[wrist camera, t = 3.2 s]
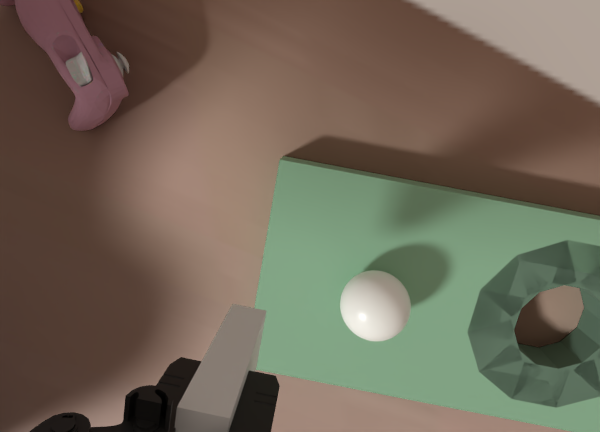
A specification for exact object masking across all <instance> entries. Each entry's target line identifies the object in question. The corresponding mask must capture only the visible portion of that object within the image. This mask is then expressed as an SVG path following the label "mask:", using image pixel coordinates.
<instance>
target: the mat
mask: <svg viewBox="0 0 600 432" xmlns="http://www.w3.org/2000/svg"><path fill="white" fill-rule="evenodd" d="M371 270H377V271H383V272H386V273H389V274H391V275H393V276H394V277H395V278H397V279H398V280H399V281H400V282H401V283H402V284H403V285H404V287H405V288H406V290H407V292H408V295H409V298H410V303H411V312H410V317H409V320H408V322H407V324H406V326H405V327H404V329H403V330H402V331H401V332H400V333H399V334H398V335H396V336H395V337H393V338H391V339H388V340H385V341H369V340H365V339H363V338H360V337H359V336H357V335H356V334H354V333H353V332H352V331H351V330H350V329H349V328H348V327H347V325H346V323H345V322H344V320H343V318H342V314H341V310H340V300H341V295H342V292H343V290H344V287H345V286H346V284H347V283H348V282H349V281H350V280H351V279H352V278H353V277H355V276H356V275H358V274H360V273H362V272H365V271H371ZM563 285H566V286H572V287H577V288H580V291H581V295H582V300H583V304H584V310H583V313H582V315H581V318H580V321H579V323H578V326H577V328H576V329H574V330H573V331H572V332H571V333H570V334H569V335H567V336H566V337H565V338H564V339H563V340H562V341H560V342H557V343H554V344H550V345H546V346H543V347H539V348H538V347H533V346H528V345H522V344H518V343H517V340H516V336H515V332H514V328H515V325H516V323H517V320H518V317H519V314H520V311H521V308H523V307H524V306H525V305H526V304H527V303H528V302H529V301H530V300H531V299H532V298H534V297H535V296H536V295H537V294H538V293H539V292H542V291H545V290H549V289H552V288H556V287H559V286H563ZM255 308H256V309H261V310H265V311H266V317H265V322H264V328H263V334H262V339H261V345H260V350H259V356H258V362H257V367H256V370H260V371H266V372H271V373H276V374H281V375H286V376H291V377H296V378H301V379H306V380H312V381H317V382H322V383H327V384H332V385H337V386H342V387H347V388H352V389H358V390H363V391H368V392H373V393H378V394H383V395H388V396H393V397H398V398H403V399H409V400H414V401H419V402H424V403H429V404H434V405H439V406H444V407H449V408H455V409H460V410H465V411H470V412H475V413H480V414H485V415H490V416H495V417H500V418H506V419H511V420H516V421H521V422H526V423H531V424H536V425H541V426H546V427H552V428H557V429H562V430H567V431H572V432H600V216H598V215H593V214H587V213H582V212H577V211H572V210H566V209H561V208H556V207H550V206H545V205H540V204H535V203H529V202H524V201H519V200H513V199H508V198H503V197H498V196H492V195H487V194H482V193H476V192H471V191H466V190H461V189H455V188H450V187H445V186H439V185H434V184H429V183H424V182H418V181H413V180H408V179H402V178H397V177H392V176H387V175H381V174H376V173H371V172H365V171H360V170H355V169H350V168H344V167H339V166H334V165H329V164H323V163H318V162H313V161H307V160H302V159H297V158H292V157H286V156H283V157H282V158H281V159H280V161H279V167H278V173H277V179H276V184H275V190H274V196H273V202H272V208H271V214H270V220H269V226H268V231H267V237H266V243H265V249H264V255H263V261H262V267H261V273H260V278H259V284H258V290H257V296H256V302H255Z"/></svg>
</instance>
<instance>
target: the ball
mask: <svg viewBox="0 0 600 432" xmlns="http://www.w3.org/2000/svg"><path fill="white" fill-rule="evenodd" d="M340 310H341V314H342V318H343V320H344V322H345V323H346V325H347V327H348V328H349V329H350V330H351V331H352V332H353V333H354V334H356V335H357V336H359V337H360V338H363V339H365V340H369V341H385V340H388V339H391V338H393V337H395V336H396V335H398V334H399V333H400V332H401V331H402V330H403V329H404V327H405V326H406V324H407V322H408V320H409V317H410V312H411V303H410V298H409V295H408V292H407V290H406V288H405V287H404V285H403V284H402V283H401V282H400V281H399V280H398V279H397V278H395V277H394V276H393V275H391V274H389V273H386V272H383V271H377V270H371V271H365V272H362V273H360V274H358V275H356V276H355V277H353V278H352V279H351V280H350V281H349V282H348V283H347V284H346V286H345V287H344V290H343V292H342V295H341V300H340Z"/></svg>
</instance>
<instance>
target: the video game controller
mask: <svg viewBox="0 0 600 432" xmlns="http://www.w3.org/2000/svg"><path fill="white" fill-rule="evenodd" d="M0 5H4V6H10V5H15V6H16V10H17V13H18V16H19V19H20V22H21V24H22V25H23V27H24V29H25V30H26V32H27V33H28V34H29V35H30V36H31V38H32V39H33V40H34V41H35V42H36V43H37V44H38V45H39V46H40V47H41V48H42V49H43V50H44V51H45V52H47V54H48V56H49V57H50V59H51V60H52V62H53V64H54V65H55V67H56V68H57V70H58V72H59V73H60V75H61V76H62V78H63V79H64V80H65V82H66V83H67V84H68V86H69V87H70V89H71V90H72V91H73V93H74V95H75V102H74V106H73V108H72V110H71V112H70V114H69V117H68V123H69V126H70V127H71V128H72V129H74V130H77V131H85V130H90V129H93V128H95V127H97V126H99V125H101V124H102V123H104V122H105V121H106V120H108V119H109V118H110V117H111V116H112V115H113V114H114V113H115V112H116V110H117V109H118V107H119V105H120V103H121V101H122V99H123V98H124V97H127V96H129V93H128V90H127V87H126V85H125V83H124V78H123V68H124V69H125V71H126V72H127V73H128V74H129V64H128V62H127V60H126V58H125V57H124V56H122V54H120V53H119V52H116V53H117V56H118V59H117V58H116V57H115V56H114V55H112V54H111V53H110V52H109V51H108V50H107V49H106V48H105V47H104V45H103V44H102V42H101V41H100V40H99V38H98V37H97V36H92V37H91V35H90V33H89V32H88V30H87V28H86V26H85V24H84V21H83V19H82V17H81V15H80V13H82V12H83V7H82V5H81V3H80V2H79V0H0Z"/></svg>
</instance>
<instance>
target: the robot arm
mask: <svg viewBox="0 0 600 432" xmlns="http://www.w3.org/2000/svg"><path fill="white" fill-rule="evenodd" d="M265 317H266V311H265V310H261V309H256V308H251V307H246V306H241V305H236V304H232V306H231V308H230V310H229V311H228V313H227V315H226V317H225V319H224V321H223V323H222V324H221V326H220V328H219V330H218V332H217V334H216V336H215V337H214V339H213V341H212V343H211V345H210V347H209V349H208V350H207V352H206V354H205V356H204V358H203V360H202V362H201V361H196V360H192V359H187V358H182V357H181V358H179V359H178V360H176V361H174V362H173V363H171V364H170V365H169V367H168V368H167V370H166V371H165V373H164V375H163V376H162V377H161V379H160V380H159V382H158V383H157V385H156V386H152V385H148V386H142V387H139V388H136V389H134V390H132V391H131V392H130V393H129V394H127V395H126V398H125V409H124V420H123V422H122V423H121V424H119V425H115V426H108V427H91V425H90V422H89V419H88V418H87V417H85V416H84V415H82V414H78V413H62V414H58V415H55V416H52V417H51V418H49V419H47V420H45V421H43V422H42V423H41V424H39V425H38V426H37V427H35V428H34V429H32V430H31V431H30V432H271V427H272V422H273V417H274V412H275V407H276V402H277V397H278V391H279V383H278V381H277V378H276V376H274V375H269V374H264V373H259V372H255V370H256V367H257V362H258V356H259V350H260V345H261V339H262V334H263V328H264V322H265Z"/></svg>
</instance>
